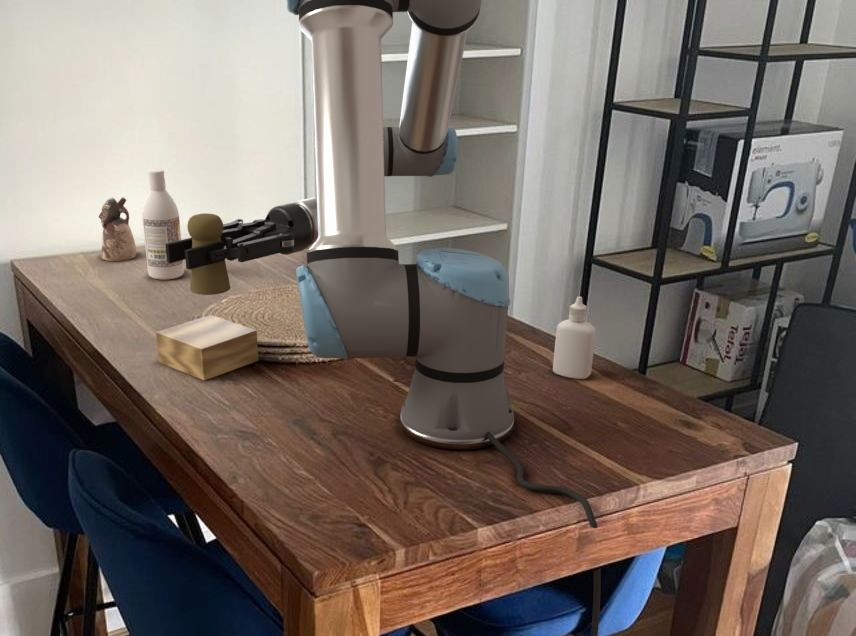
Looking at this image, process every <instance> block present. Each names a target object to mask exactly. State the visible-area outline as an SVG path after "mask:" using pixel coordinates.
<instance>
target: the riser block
mask: <svg viewBox="0 0 856 636" xmlns="http://www.w3.org/2000/svg"><path fill="white" fill-rule="evenodd" d="M155 336H156V347H157V357H158V363H159V364H162V365H164V366H166V367H169V368H172V369H174V370H177V371H179V372H182V373H185V374H187V375H189V376H191V377H195V378H197V379H199V380H202V381H207V380H209V379H212V378H215V377H217V376H221V375H224V374H225V373H229V372H231V371H234V370H237V369H239V368H243V367H245V366H247V365H250V364H254V363H256V362H259V345H258V330H257V329H254V328H252V327H249V326H245V325H242V324H239V323H236V322H233V321H231V320H227V319H225V318H222V317H219V316H215V315H212V314H209V315H206V316H202V317H200V318H196V319H194V320H190V321H187V322H184V323H181V324H178V325H174V326H171V327H169V328H165V329H162V330H159V331H156V332H155Z"/></svg>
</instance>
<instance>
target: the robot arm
mask: <svg viewBox="0 0 856 636" xmlns="http://www.w3.org/2000/svg"><path fill="white" fill-rule="evenodd" d="M482 1H483V0H286V8H287V12H288V13H291V14H293V16H298V27H299V30H300V31H301V32H302V33H303V34H304V35H305V36H306V37H307V38H308V39H309V40H310V41H311V51H312V53H311V54H312V57H311V58H312V84H313V85H312V86H313V88H312V89H313V115H314V119H313V120H314V148H315V149H314V151H315V178H316V179H315V181H316V196H314V197H310V198H305V199H300V200H296V201H293V202H289V203H284V204H279V205H276V206H274V207H272V208H271V209H270V210H269V211H268V213H267V214H266V217H265V218H264V219H263V218H260V219H254V220H253V221H251V222H245V223H244V220H243V219H241V218H237V219H235V220H233V221H231V222H227V223H223V233H222V235H221V237H220V239H221V241H219V242H216V243H211V244H207V245H203V246H199V247H195V248H192V237H188V238H185V239H181V240H179V241H175V242H171V243H167V244H165V245H166V256H167V262H168V263H173V262H177V261H181V260H183V261H184V260H185V269H186V270H189V271H191V269H194V268H198V267H202V266H205V265H209V264H213V263H217V262H221V261H225V262H226V260H227V261H229V262H230V261H231V262H232V261H236V260H237V262H239V263H245V262H248V261H253V260H258V259H261V258H265V257H269V256H273V255H277V254H280V255H284V256H289V255H291V254H295V253H299V252H303V251H305V250H307V251H306V264H301V265H300V266H298V267H297V268H295V274H296V281H297V286H298V293H299V301H300V307H301V313H302V319H303V324H304V325H303V326H304V331H305V336H306V342H307V346H308V349H309V351H310V352H311V354H312V355H314V356H315V357H317V358H320V359H343V360H344V361H348V360H349V359H379V358H380V359H382V358H384V359H385V358H408V357H411V358H413V357H415V361H414V363H415V364H414V374H413V376H412V379H411V383H410V385H409V389H408V392H407V395H406V397H405V398H406V399H405V400H404V401H403V402H402V403H403V404H402V406H401V409H400V420H399V421H400V428H401V431H402V432H403V433H404V435H406V436H407V437H408V438H410V439H412V440H414V441H415V442H417V443H420V444H423V445H426V446H429V447H434V448H439V449H445V450H460V451H461V450H462V451H463V450H465V451H466V450H477V449H482V448H488V447H493V446H495V448H496V449H497V450H498V451H499V452H500V453H501V454H502V455H503V456H504V457H505V458H506V459H507V460H508V461H509V462H511V464H512V465H513V466H514V467H515V469H516V471H517V473H516V481H517V483H518V484H519V485H520V486H521V487H523V488H525V489H527V490H530V491H534V492H543V493H555V494H562V495H565V496H568V497H570V498H572V499H573V500H576V501H577V502H579V503H580V504H581V506H582V508H583V510H584V512H585V515H586V518H587V521H588V523H589V526H590V527H591V528H593V529H598V523H597V520H596V518H595V515H594V512H593V509H592V507H591V504H590V502H589V501H588V499H587V498H586V497H585V496H583V495H582V494H580V493H578V492H576V491H574V490H572V489H569V488H567V487H563V486H558V485H547V484H546V485H544V484H535V483H531V482H528V481H527V480H525V479H524V474H525V471H524V467H523V465H522V464H521V462H520V461H519V460H518V459H517V458H516V456H515V455H513V454H512V453H511V452H510V451H509V450H508V449H507V448H506V446H505V445H503V444H502V443H501V442H504V441H505V440H507V439H508V438H509V437H510V436H511V435H512V434H513V431H514V427H515V415H514V408H513V406H512V403H511V399H510V393H509V389H508V386H507V382H506V379H505V374H504V373H505V372H504V371H505V358H506V357H505V356H506V343H507V331H508V330H507V328H508V314H509V306H510V305H511V299H510V275H509V271H508V270H507V268H506V267H505V266H504V265H503V263H502V262H500V261H499V260H497V259H495V258H493V257H491V256H488V255H486V254H484V253H480V252H476V251H472V250H467V249H462V248H455V247H454V248H453V247H433V248H425V249H422V250H421V251H420V252H419V253H418V254H417V257H416V258H415V263H400V259H399V258H400V257H399V248H398V247H397V245H395V244H394V243H393V242H392V241H391V240H390V239H389V238H388V235H387V224H386V185H385V182H386V180H385V177H429V178H432V177H436V176H446V175H450V174H452V173H453V172H454V171H455V169H456V166H457V160H458V159H457V157H458V134H457V131H456V129H455V127H453V126H450V122H451V121H450V120H451V115H452V111H453V105H454V101H455V96H456V92H457V88H458V87H457V86H458V81H459V76H460V71H461V66H462V63H463V62H462V61H463V57H464V51H465V47H466V42H467V38H468V37H467V36H468V31H469V30H470V29H472V27H474V25H475V24H476V22H477V20H478V19H479V15H480V11H481V7H482ZM394 13H407V15H408V17H409V19H410V20H411V29H410V30H411V31H410V37H409V43H408V44H409V45H408V54H407V61H406V62H407V63H406V70H405V78H404V86H403V92H402V94H403V95H402V101H401V110H400V119H399V125H398V126H384V105H383V103H384V101H383V70H382V68H383V67H382V66H383V64H382V63H383V62H382V60H383V59H382V39H383V38H384V37H385V36H386V35H387V33H388V32H389V31H390V30H391V29H392V28H393V26H394ZM601 572H602V569H601V568H598V569H596V570H594V571H593V594H592V595H593V596H592V599H593V600H592V615H591V618H592V619H591V632H590V636H599V624H600V610H601V587H602V586H601V585H602V584H601V583H602V582H601V579H602V578H601V577H602V575H601V574H602V573H601Z"/></svg>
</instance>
